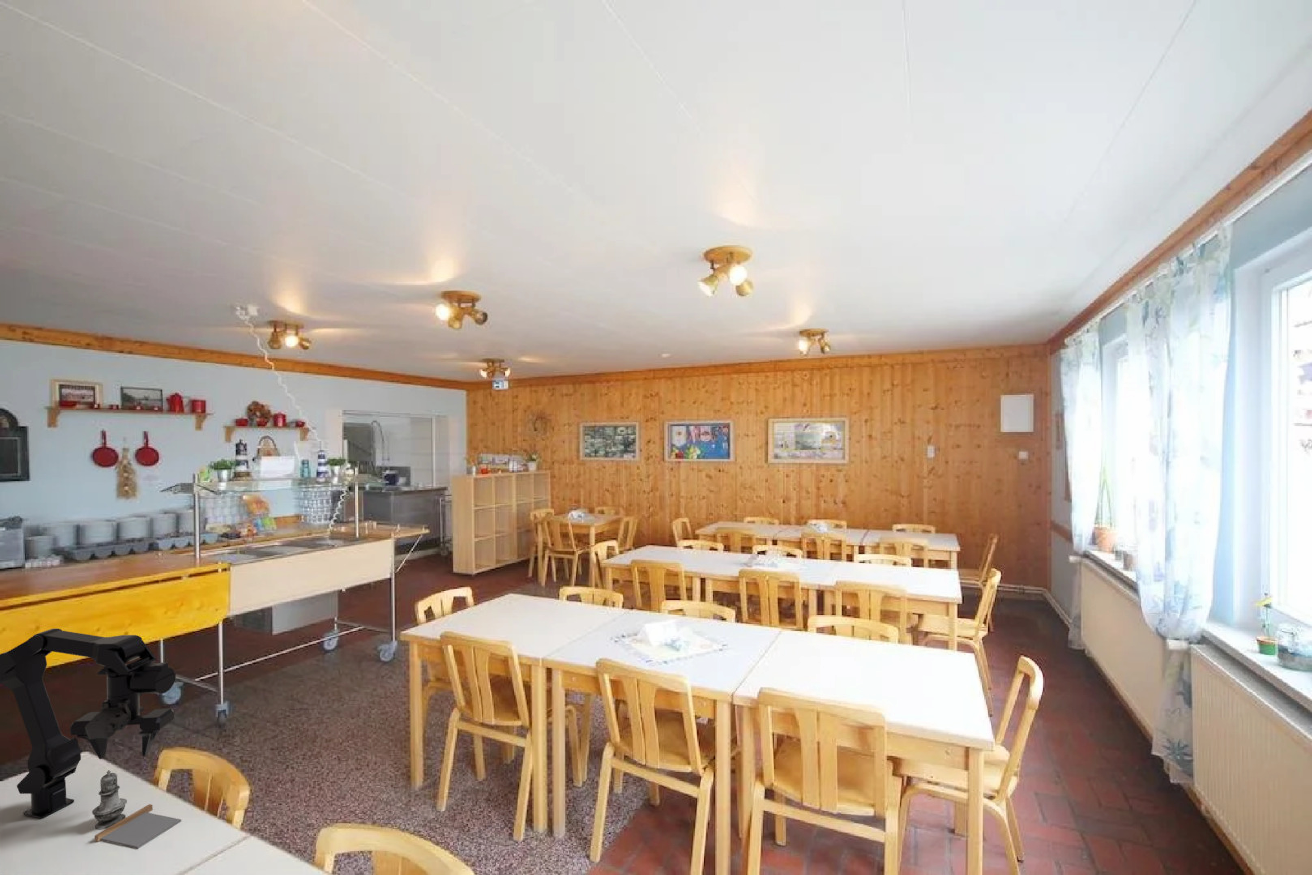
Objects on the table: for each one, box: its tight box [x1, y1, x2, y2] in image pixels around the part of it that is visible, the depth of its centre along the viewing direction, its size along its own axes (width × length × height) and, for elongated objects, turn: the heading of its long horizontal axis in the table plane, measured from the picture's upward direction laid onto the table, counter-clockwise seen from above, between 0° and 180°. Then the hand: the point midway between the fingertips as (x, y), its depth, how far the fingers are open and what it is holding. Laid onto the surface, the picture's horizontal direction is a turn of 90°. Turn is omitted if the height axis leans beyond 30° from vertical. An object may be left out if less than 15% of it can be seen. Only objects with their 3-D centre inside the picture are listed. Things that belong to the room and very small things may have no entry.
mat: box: [100, 812, 182, 849], centre depth 132 cm, size 11×9×1 cm
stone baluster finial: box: [91, 770, 128, 831], centre depth 135 cm, size 6×6×12 cm
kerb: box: [94, 803, 154, 843], centre depth 134 cm, size 1×11×1 cm, turn 165°
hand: (123, 756), depth 140 cm, fingers open, 9 cm apart
